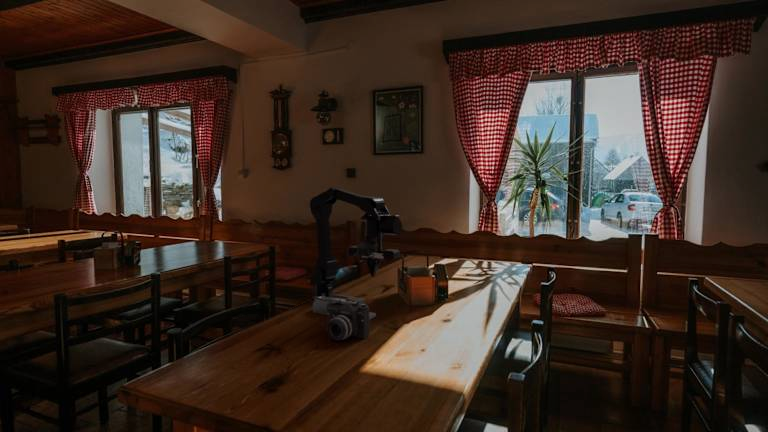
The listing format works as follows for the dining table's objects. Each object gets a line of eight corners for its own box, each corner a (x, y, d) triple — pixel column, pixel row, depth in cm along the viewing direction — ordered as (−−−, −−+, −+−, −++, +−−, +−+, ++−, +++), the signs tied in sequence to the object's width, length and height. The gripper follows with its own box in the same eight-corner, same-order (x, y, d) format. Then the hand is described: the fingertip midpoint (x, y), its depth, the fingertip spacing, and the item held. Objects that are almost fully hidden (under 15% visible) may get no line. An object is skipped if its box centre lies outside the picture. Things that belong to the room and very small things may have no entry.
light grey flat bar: (319, 299, 160) (319, 297, 160) (323, 297, 162) (323, 296, 162) (351, 304, 154) (351, 302, 154) (355, 302, 156) (355, 300, 156)
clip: (344, 312, 154) (344, 299, 154) (351, 309, 158) (351, 296, 158) (358, 314, 152) (358, 301, 152) (364, 311, 155) (364, 298, 155)
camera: (311, 337, 132) (312, 304, 132) (333, 327, 142) (333, 296, 141) (352, 347, 126) (353, 312, 125) (372, 335, 135) (373, 302, 134)
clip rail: (348, 316, 153) (348, 313, 153) (355, 312, 158) (356, 309, 158) (368, 320, 150) (368, 317, 149) (376, 316, 154) (376, 313, 154)
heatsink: (310, 311, 158) (310, 297, 157) (327, 305, 166) (327, 291, 166) (346, 318, 151) (347, 304, 150) (362, 311, 159) (362, 297, 159)
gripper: (339, 233, 157) (338, 277, 158) (386, 237, 148) (385, 283, 150) (355, 230, 167) (355, 271, 168) (401, 233, 158) (400, 277, 159)
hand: (373, 276), depth 161 cm, fingers closed
